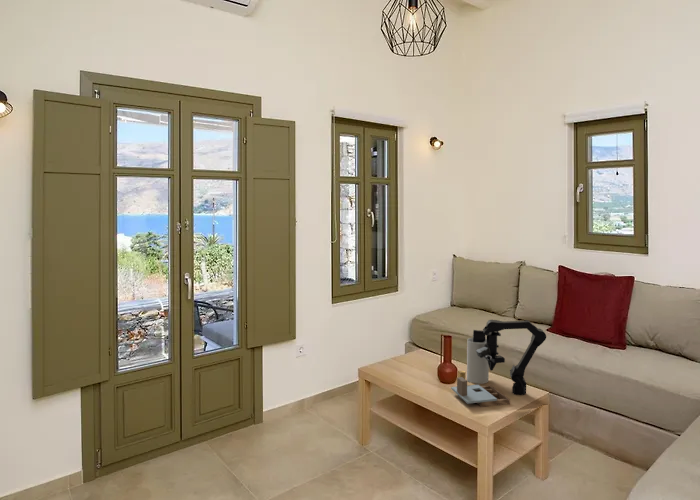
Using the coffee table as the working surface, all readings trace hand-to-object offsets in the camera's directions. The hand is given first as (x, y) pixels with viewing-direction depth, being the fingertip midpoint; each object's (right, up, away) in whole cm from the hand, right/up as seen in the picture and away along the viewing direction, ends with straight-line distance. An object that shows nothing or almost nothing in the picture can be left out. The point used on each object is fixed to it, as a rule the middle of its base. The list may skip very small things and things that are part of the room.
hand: (491, 370), depth 265 cm
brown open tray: (-5, -14, -8) cm, 17 cm away
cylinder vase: (-3, -12, +19) cm, 22 cm away
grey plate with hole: (-13, -10, -10) cm, 19 cm away
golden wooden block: (-15, -13, +8) cm, 21 cm away
